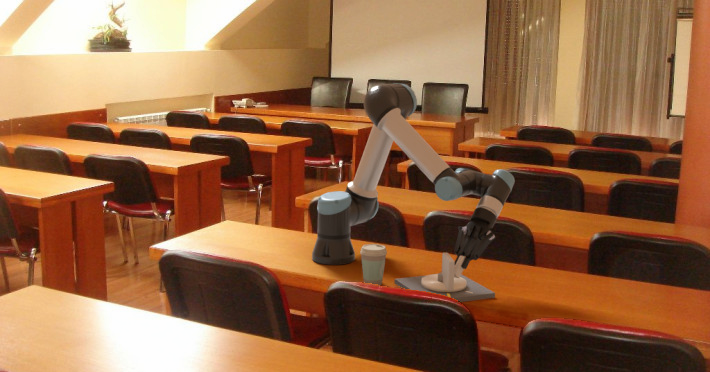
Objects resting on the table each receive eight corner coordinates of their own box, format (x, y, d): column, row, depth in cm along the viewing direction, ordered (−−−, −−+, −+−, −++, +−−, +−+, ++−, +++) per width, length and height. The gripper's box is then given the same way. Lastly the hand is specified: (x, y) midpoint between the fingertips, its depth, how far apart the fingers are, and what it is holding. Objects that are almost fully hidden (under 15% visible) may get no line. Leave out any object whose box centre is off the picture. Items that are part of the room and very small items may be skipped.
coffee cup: (383, 288, 248) (384, 251, 246) (357, 286, 250) (357, 249, 248) (388, 280, 256) (389, 244, 254) (362, 278, 258) (363, 242, 256)
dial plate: (394, 283, 253) (394, 278, 253) (457, 276, 262) (457, 271, 262) (428, 306, 232) (428, 300, 232) (494, 297, 241) (495, 292, 241)
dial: (417, 278, 253) (418, 246, 251) (460, 278, 254) (462, 246, 252) (427, 295, 236) (428, 261, 235) (473, 295, 238) (475, 261, 236)
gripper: (508, 223, 248) (477, 286, 239) (473, 216, 257) (442, 277, 248) (500, 209, 243) (468, 274, 235) (464, 203, 252) (432, 265, 243)
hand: (455, 275), depth 241 cm, fingers closed
